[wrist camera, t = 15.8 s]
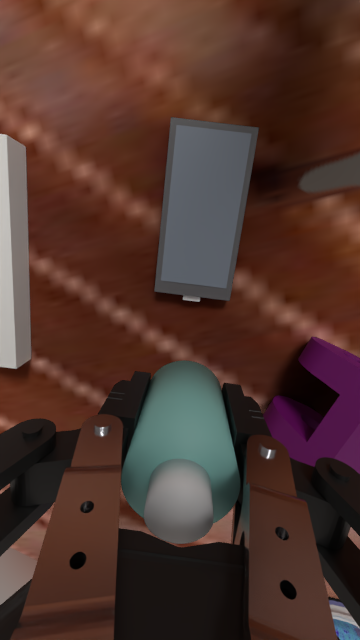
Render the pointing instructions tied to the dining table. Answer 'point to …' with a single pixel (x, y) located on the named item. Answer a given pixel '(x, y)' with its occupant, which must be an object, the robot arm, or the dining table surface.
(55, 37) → the dining table surface
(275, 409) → the mounting bracket
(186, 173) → the phone
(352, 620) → the athletic shoe
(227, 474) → the teal rounded cylinder
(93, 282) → the dining table surface
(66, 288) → the dining table surface
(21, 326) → the board
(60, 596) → the robot arm
